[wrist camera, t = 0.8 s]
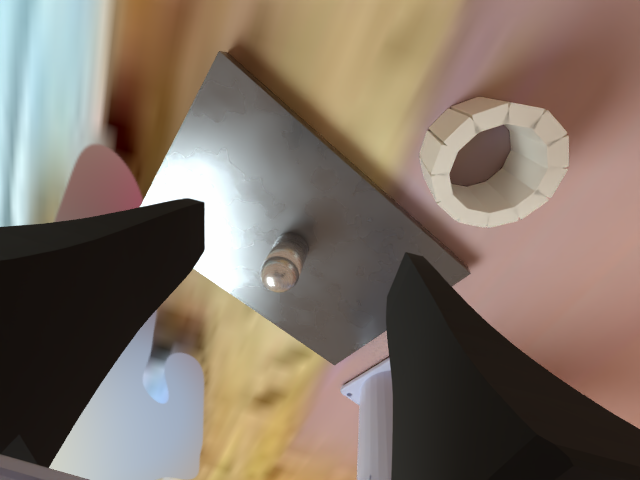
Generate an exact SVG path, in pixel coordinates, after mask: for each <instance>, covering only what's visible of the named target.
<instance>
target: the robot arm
mask: <svg viewBox="0 0 640 480" xmlns="http://www.w3.org/2000/svg"><path fill="white" fill-rule="evenodd" d="M204 251H205V202H202V201H198V200H194V199H190V198H183V199H176V200H171V201H166V202H161V203H157V204H152V205H148V206H143V207H139V208H135V209H130V210H126V211H120V212H115V213H110V214H105V215H100V216H95V217H89V218H83V219H77V220H69V221H61V222H53V223H45V224H34V225H21V226H8V227H0V480H88V479H85V478H81V477H78V476H74V475H71V474H67V473H64V472H60V471H57V470H53V469H50V468H49V466H50V465H51V463H52V461H53V459H54V458H55V456H56V454H57V453H58V451H59V449H60V448H61V446H62V444H63V443H64V441H65V439H66V438H67V436H68V435H69V433H70V431H71V430H72V428H73V426H74V425H75V423H76V421H77V420H78V418H79V416H80V415H81V413H82V412H83V410H84V409H85V407H86V405H87V404H88V403H89V401H90V399H91V398H92V396H93V395H94V393H95V392H96V390H97V388H98V387H99V386H100V384H101V382H102V381H103V380H104V378H105V377H106V375H107V374H108V372H109V371H110V369H111V368H112V367H113V365H114V363H115V362H116V361H117V359H118V358H119V356H120V355H121V354H122V352H123V351H124V350H125V348H126V347H127V345H128V344H129V343H130V341H131V340H132V339H133V337H134V336H135V334H136V333H137V332H138V330H139V329H140V328H141V327H142V326H143V324H144V323H145V322H146V321H147V320H148V318H149V317H150V316H151V315H152V314H153V313H154V312H155V311H156V310H157V309H158V307H159V306H160V305H161V304H162V303H163V302H164V301H165V300H166V299H167V298H168V296H169V295H170V294H171V293H172V292H173V291H174V290H175V289H176V288H177V287H178V286H179V284H180V283H181V282H182V281H183V280H184V279H185V278H186V277H187V275H188V274H189V273H190V272H191V271H192V269H193V268H194V266H195V265H196V263H197V262H198V260H199V259H200V257H201V256H202V254H203V253H204ZM386 328H387V339H388V349H389V358H387V359H386V360H384V361H382V362H381V363H379V364H378V365H376V366H374V367H373V368H371V369H369V370H368V371H366V372H365V373H363V374H361V375H360V376H358V377H356V378H355V379H353V380H351V381H350V382H348V383H347V384H345V385H343V386H342V387H341V393H342V394H343V395H345V396H346V397H348V398H349V399H351V400H352V401H354V402H355V403H357V404H358V405H359V432H358V461H357V480H640V429H638V428H637V427H635V426H633V425H632V424H630V423H628V422H626V421H625V420H623V419H621V418H620V417H618V416H616V415H614V414H613V413H611V412H610V411H608V410H606V409H605V408H603V407H602V406H600V405H599V404H597V403H595V402H594V401H592V400H591V399H589V398H588V397H586V396H585V395H583V394H581V393H580V392H578V391H577V390H575V389H574V388H572V387H571V386H569V385H568V384H566V383H565V382H563V381H562V380H561V379H559V378H558V377H556V376H555V375H553V374H552V373H550V372H549V371H548V370H546V369H545V368H544V367H542V366H541V365H540V364H538V363H537V362H535V361H534V360H533V359H531V358H530V357H529V356H527V355H526V354H525V353H523V352H522V351H521V350H520V349H518V348H517V347H516V346H514V345H513V344H512V343H511V342H510V341H508V340H507V339H506V338H505V337H504V336H502V335H501V334H500V333H499V332H498V331H496V330H495V329H494V328H493V327H492V326H491V325H490V324H488V323H487V322H486V321H485V320H484V319H483V318H482V317H481V316H480V315H479V314H478V313H477V312H476V311H475V310H474V309H473V308H472V307H471V306H470V305H468V303H467V302H466V301H465V300H464V299H463V298H462V297H461V296H460V295H459V294H458V293H457V292H456V291H455V290H454V289H453V288H452V287H451V286H450V285H449V283H448V282H447V281H446V280H445V279H444V278H443V277H442V276H441V275H440V273H439V272H438V271H437V270H436V269H435V268H434V267H433V266H432V265H431V264H430V263H429V262H428V261H427V260H426V259H425V258H424V257H423V256H420V255H416V254H412V253H408V252H405V254H404V256H403V259H402V261H401V264H400V266H399V269H398V271H397V273H396V276H395V278H394V281H393V283H392V286H391V288H390V291H389V293H388V295H387V306H386Z"/></svg>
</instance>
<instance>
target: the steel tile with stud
mask: <svg viewBox="0 0 640 480" xmlns="http://www.w3.org/2000/svg"><path fill="white" fill-rule="evenodd" d="M183 198H190V199H194V200H198V201H202V202H205V251H204V253H203V254H202V256H201V257H200V259H199V260H198V262H197V263H196V265H195V266H194V269H195V270H197V271H198V272H199V273H201V274H202V275H204V276H205V277H207V278H208V279H210V280H211V281H213V282H214V283H215V284H217V285H218V286H220V287H221V288H223V289H224V290H226V291H227V292H229V293H230V294H231V295H233V296H234V297H236V298H237V299H239V300H240V301H242V302H243V303H245V304H246V305H247V306H249V307H250V308H252V309H253V310H255V311H256V312H258V313H259V314H261V315H262V316H263V317H265V318H266V319H268V320H269V321H271V322H272V323H274V324H275V325H277V326H278V327H279V328H281V329H282V330H284V331H285V332H287V333H288V334H290V335H291V336H293V337H294V338H295V339H297V340H298V341H300V342H301V343H303V344H304V345H306V346H307V347H309V348H310V349H311V350H313V351H314V352H316V353H317V354H319V355H320V356H322V357H323V358H324V359H326V360H327V361H329V362H330V363H332V364H333V365H336V364H337V363H339V362H340V361H342V360H343V359H345V358H346V357H348V356H349V355H351V354H352V353H354V352H355V351H357V350H358V349H360V348H361V347H363V346H364V345H365V344H367V343H368V342H370V341H371V340H373V339H374V338H376V337H377V336H379V335H380V334H382V333H383V332H385V331H386V330H387V328H386V306H387V295H388V293H389V291H390V288H391V286H392V283H393V281H394V278H395V276H396V273H397V271H398V269H399V266H400V264H401V261H402V259H403V256H404V254H405V252H408V253H412V254H416V255H420V256H423V257H424V258H425V259H426V260H427V261H428V262H429V263H430V264H431V265H432V266H433V267H434V268H435V269H436V270H437V271H438V272H439V273H440V275H441V276H442V277H443V278H444V279H445V280H446V281H447V282H448V283H449V285H450V286H451V287H452V286H453V285H455V284H456V283H458V282H459V281H460V280H462V279H463V278H465V277H466V276H468V275H469V274H471V273H470V271H469V269H468V267H467V265H466V264H465V263H463V262H462V261H461V260H460V259H459V258H458V257H457V256H456V255H454V254H453V253H452V252H451V251H450V250H449V249H448V248H447V247H445V246H444V245H443V244H442V243H441V242H440V241H439V240H438V239H436V238H435V237H434V236H433V235H432V234H431V233H430V232H429V231H427V230H426V229H425V228H424V227H423V226H422V225H421V224H420V223H418V222H417V221H416V220H415V219H414V218H413V217H412V216H411V215H409V214H408V213H407V212H406V211H405V210H404V209H403V208H402V207H400V206H399V205H398V204H397V203H396V202H395V201H394V200H393V199H391V198H390V197H389V196H388V195H387V194H386V193H385V192H384V191H382V190H381V189H380V188H379V187H378V186H377V185H376V184H375V183H373V182H372V181H371V180H370V179H369V178H368V177H367V176H366V175H364V174H363V173H362V172H361V171H360V170H359V169H358V168H357V167H355V166H354V165H353V164H352V163H351V162H350V161H349V160H348V159H346V158H345V157H344V156H343V155H342V154H341V153H340V152H339V151H337V150H336V149H335V148H334V147H333V146H332V145H331V144H330V143H328V142H327V141H326V140H325V139H324V138H323V137H322V136H321V135H319V134H318V133H317V132H316V131H315V130H314V129H313V128H312V127H310V126H309V125H308V124H307V123H306V122H305V121H304V120H303V119H301V118H300V117H299V116H298V115H297V114H296V113H295V112H294V111H293V110H291V109H290V108H289V107H288V106H287V105H286V104H285V103H284V102H282V101H281V100H280V99H279V98H278V97H277V96H276V95H275V94H273V93H272V92H271V91H270V90H269V89H268V88H267V87H266V86H264V85H263V84H262V83H261V82H260V81H259V80H258V79H257V78H255V77H254V76H253V75H252V74H251V73H250V72H249V71H248V70H246V69H245V68H244V67H243V66H242V65H241V64H240V63H239V62H237V61H236V60H235V59H234V58H233V57H232V56H231V55H230V54H228V53H227V52H222V51H219V52H218V54H217V56H216V58H215V60H214V62H213V64H212V66H211V68H210V70H209V72H208V74H207V76H206V78H205V80H204V82H203V84H202V86H201V88H200V90H199V92H198V94H197V96H196V98H195V100H194V102H193V104H192V106H191V108H190V110H189V112H188V114H187V116H186V118H185V119H184V121H183V123H182V125H181V127H180V129H179V131H178V133H177V135H176V137H175V139H174V141H173V143H172V145H171V147H170V149H169V151H168V153H167V155H166V157H165V159H164V161H163V163H162V165H161V167H160V169H159V171H158V173H157V175H156V177H155V179H154V181H153V183H152V185H151V187H150V189H149V191H148V193H147V195H146V197H145V199H144V201H143V203H142V205H141V207H143V206H148V205H152V204H157V203H161V202H166V201H171V200H176V199H183Z"/></svg>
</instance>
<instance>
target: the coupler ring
mask: <svg viewBox="0 0 640 480" xmlns="http://www.w3.org/2000/svg"><path fill="white" fill-rule="evenodd" d="M503 124H504V125H505V127H506V128H507V129H508V130H509V133H510V144H511V151H510V153H509V155H508V157H507V159H506V161H505V163H504V165H503V167H502V169H500V170H499V171H498V172H497V173H496V174H494V175H493V176H492V177H491V178H489V179H488V180H487V181H486V182H482V183H478V184H475V185H471V186H468V187H465V186H460V185H455V184H451V182H450V176H449V173H450V171H451V168H452V166H453V163H454V161H455V158H456V155H457V153H458V151H459V150H460V149H461V148H462V147H463V146H465V145H466V144H467V143H468V142H469V141H470V140H471V139H472V138H473V137H474V136H475V135H477V134H478V133H479V132H482V131H485V130H488V129H491V128H494V127H497V126H500V125H503ZM429 129H430V130H431V131H427V132H426V135H425V138H424V141H423V144H422V147H421V150H420V153H419V155H420V157H419V159H420V163H421V168H422V172H423V177H424V179H425V181H426V183H427V185H428V187H429V189H430V191H431V193H432V195H433V197H434V199H435V200H436V202H437V204H438V205H439V206H440V207H441V208H442V209H443V210H444V211H445V212H446V213H448V214H449V215H450V216H451V217H452V218H453V219H454V220H455V221H458V223H463V224H468V225H473V226H478V227H483V228H486V226H487V227H488V228H490V227H495V226H499V225H503V224H508V223H512V222H516V221H518V217H519V218H520V219H521V220H522V219H523V218H524V217H526V216H527V215H529V214H530V213H532V212H533V211H534V210H536V209H537V208H539V207H540V206H541V205H543V204H544V203H546V202H547V201H549V200H548V199H547V198H546V197H549V198H551V197H552V196H553V194H554V192H555V191H556V189H557V187H558V186H559V184H560V182H561V180H562V179H563V177H564V175H565V174H566V172H567V170H568V169H566V168H565V167H568V166H569V136H568V135H566V134H567V131H566V130H565V129H564V128H563V127H562V126H561V125H560V123H559V122H558V121H557V120H556V119H555V118H554V116H553V115H552V114H551V113H550V112H549V111H548V110H545V109H544V108H539V107H533V106H528V105H523V104H517V103H512V102H507V101H501V100H496V99H491V98H485V97H476V98H473V99H470V100H468V101H465V102H462V103H459V104H456V105H454V106H451V109H449V108H448V109H447V110H446V111H445V112H444V113H443V114H442V115H441V116H440V117H439V118H438V119H437V120H436V121H435V122H434V123H433V124H432V125H431V126H430V127H429Z"/></svg>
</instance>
